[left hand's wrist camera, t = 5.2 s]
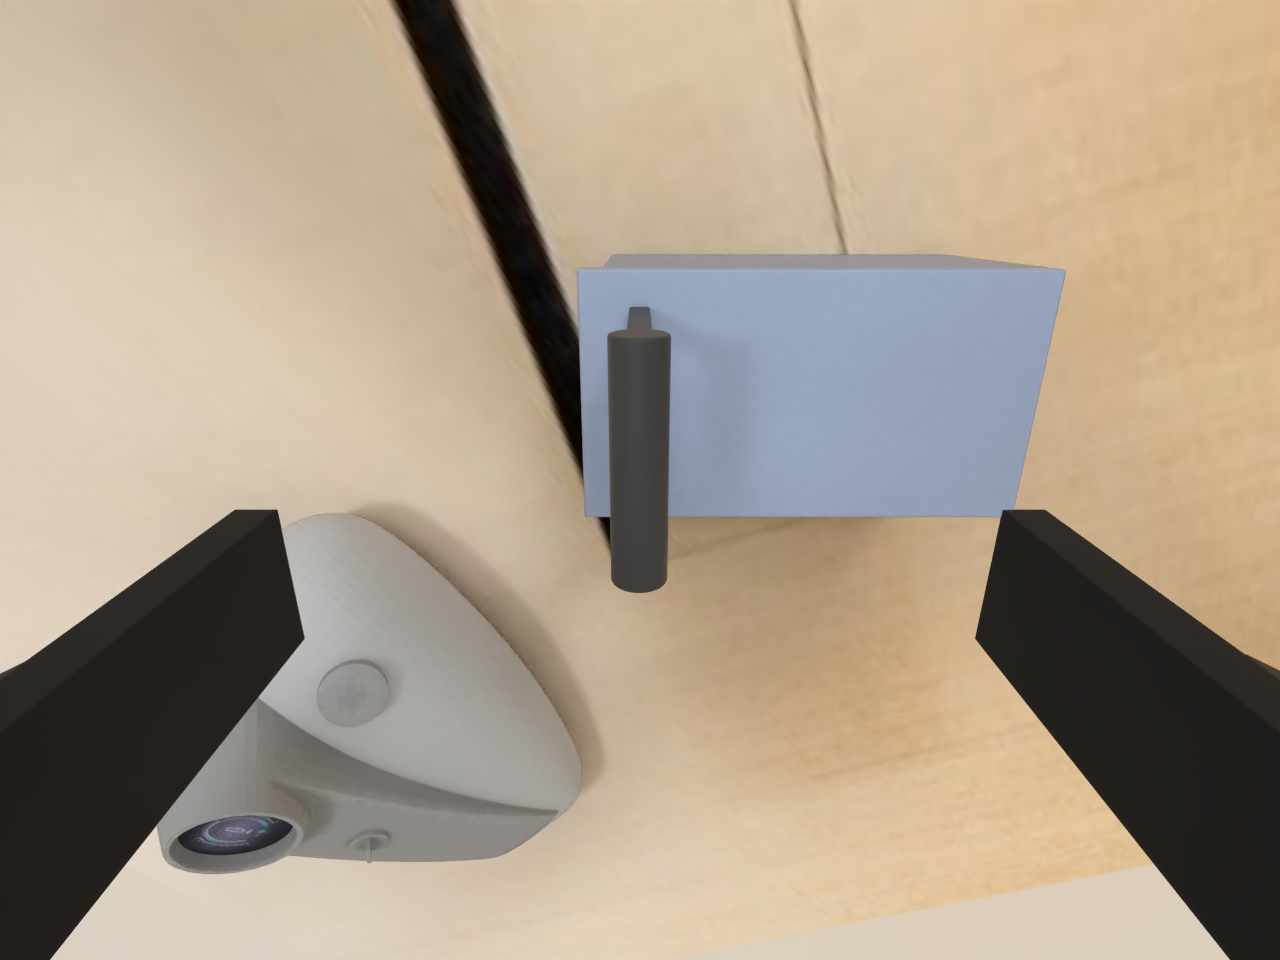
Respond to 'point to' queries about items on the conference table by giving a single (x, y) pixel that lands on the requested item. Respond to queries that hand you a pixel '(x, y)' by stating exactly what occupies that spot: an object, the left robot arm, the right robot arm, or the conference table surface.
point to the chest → (804, 261)
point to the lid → (804, 395)
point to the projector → (378, 726)
